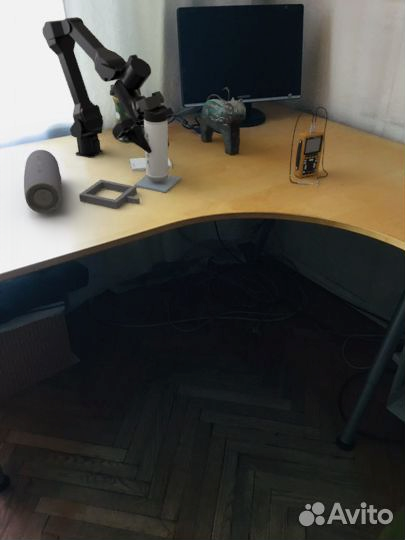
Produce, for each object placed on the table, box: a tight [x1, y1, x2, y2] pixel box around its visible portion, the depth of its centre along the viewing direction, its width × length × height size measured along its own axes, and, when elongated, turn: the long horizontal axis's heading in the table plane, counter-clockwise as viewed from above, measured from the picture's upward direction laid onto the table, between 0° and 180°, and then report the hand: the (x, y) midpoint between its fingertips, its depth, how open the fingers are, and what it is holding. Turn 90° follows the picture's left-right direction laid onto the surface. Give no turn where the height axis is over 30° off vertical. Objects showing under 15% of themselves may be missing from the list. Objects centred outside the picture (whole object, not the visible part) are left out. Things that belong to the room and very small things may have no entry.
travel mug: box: [143, 104, 169, 181], centre depth 126 cm, size 6×7×20 cm
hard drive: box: [128, 157, 173, 172], centre depth 144 cm, size 2×8×12 cm
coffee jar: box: [111, 88, 145, 143], centre depth 158 cm, size 10×8×19 cm
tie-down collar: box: [79, 179, 141, 210], centre depth 124 cm, size 15×10×2 cm
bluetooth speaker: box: [23, 149, 62, 214], centre depth 121 cm, size 23×9×10 cm, turn 17°
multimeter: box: [289, 106, 328, 187], centre depth 131 cm, size 15×10×20 cm
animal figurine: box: [199, 87, 247, 156], centre depth 151 cm, size 20×6×20 cm, turn 35°
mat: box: [133, 174, 182, 194], centre depth 133 cm, size 10×10×1 cm
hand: (159, 149), depth 126 cm, fingers closed on travel mug, 6 cm apart
